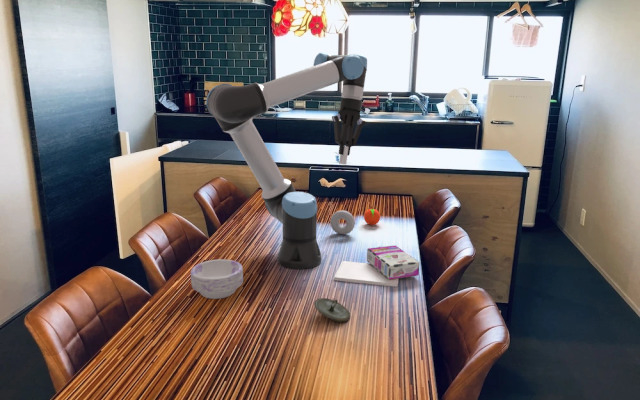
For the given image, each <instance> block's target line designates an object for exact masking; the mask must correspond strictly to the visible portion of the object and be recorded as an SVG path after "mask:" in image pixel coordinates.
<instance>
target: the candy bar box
mask: <svg viewBox="0 0 640 400" xmlns="http://www.w3.org/2000/svg"><path fill="white" fill-rule="evenodd" d="M366 251H367V252H366V262H367V263H369V264H371V265H372V266H373V267H375V268H376V269H377V270H378V271H379V272H380V273H382V274H383V275H384V276H385V277H386V278H388V279H389V280H390V279H396V278H399V279H402V278H404V279H405V278H410V277H417V276H419V274H420V264H421V263H420V261H418V260H417V259H416V258H414V257H413V256H412V255H410V254H409V253H407V252H406V251H404V250H402V249H401V248H400V247H398V246H397V245H388V246H379V247H369V248H367V249H366Z"/></svg>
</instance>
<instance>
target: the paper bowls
mask: <svg viewBox="0 0 640 400" xmlns="http://www.w3.org/2000/svg"><path fill="white" fill-rule="evenodd" d="M243 273H244V270H243V265H242V264H241V263H240V262H239V261H236V260H232V259H224V258H223V259H222V258H221V259H211V260H205V261H203V262H200V263H198V264H196V265H194V266H193V267H192V268H191V270H190V283H191V288H192V289H193V290H194V291H196V292H197V293H199V294H200V295H201V296H202V297H204V298H206V299H212V300H218V299H224V298H228V297H230V296H232V295H233V294H234V293H235V292H236V291H237V289H238V288H239V287H241V286H242V285H243V283H244V274H243Z"/></svg>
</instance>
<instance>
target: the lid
mask: <svg viewBox="0 0 640 400" xmlns="http://www.w3.org/2000/svg"><path fill="white" fill-rule="evenodd" d="M313 305H314V307H315V309H316V310H317V311H318V312H319V314H321V315H322V316H324V317H326V318H327V319H329V320H332V321H334V322H339V323H345V322H347V321H348V320H349V319H350V318H351V314H350V313H351V312H350V311H349V310H348V309H347V308H346V307H345V306H344V305H342V304H341V303H339V302H338V299H331V298H327V297H326V298H322V297H320V298H317V299H316V300H314V302H313Z"/></svg>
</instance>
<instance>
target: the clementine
mask: <svg viewBox="0 0 640 400" xmlns="http://www.w3.org/2000/svg"><path fill="white" fill-rule="evenodd" d="M363 218H364V219H363V220H364V221H365V223H366V224H368V225H370V226H375V225H377V224H378V223H379V222H380V221H381V220H380V219H381V214H380V212H379V211H378V210H377V209H375V208H369V209H367V210H366V211H365V212H364V214H363Z"/></svg>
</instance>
